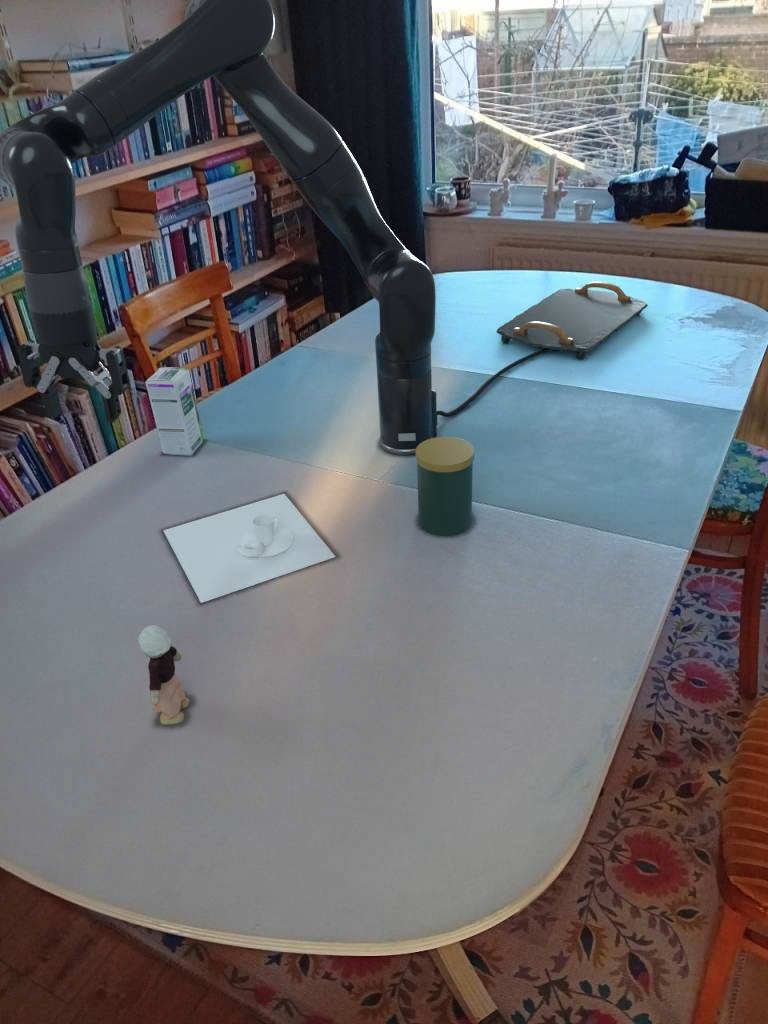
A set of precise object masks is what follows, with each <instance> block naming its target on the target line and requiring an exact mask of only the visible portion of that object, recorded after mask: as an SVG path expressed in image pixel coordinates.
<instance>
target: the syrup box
mask: <svg viewBox="0 0 768 1024" xmlns="http://www.w3.org/2000/svg"><path fill="white" fill-rule="evenodd" d="M144 382H145V386H146V390H147V394H148V399H149V403H150V406H151V410H152V415H153V419H154V423H155V426H156V430H157V434H158V438H159V443H160V446H161V451H162V454H165V455H172V456H193V455H194V453H195V452H196V451H197V449H198V448H199V447H200V446H201V444H203V442H204V441H205V438H204V434H203V429H202V425H201V420H200V416H199V410H198V405H197V401H196V396H195V392H194V386H193V383H192V377H191V372H190V369H189V368H186V367H178V366H177V367H175V366H169V367H167V366H166V367H159V368H158V369H157V371H156V372H154V373H153V374H152V375H151V376H150V377H148V379H147V380H145V381H144Z"/></svg>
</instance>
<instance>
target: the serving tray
mask: <svg viewBox="0 0 768 1024" xmlns="http://www.w3.org/2000/svg"><path fill="white" fill-rule="evenodd" d="M590 288H597V289H604V290H609V291H603V290H592V289H590ZM610 291H612V292H610ZM648 305H649V304H648V303H647V302H645V301H643V300H640V299H637V298H634V297H631V296H630V295H626V293H625V292H624V291H623V289H622V288H621V287H620V286H618V285H616V284H613V283H610V282H603V281H591V282H588V283H586V284H584V286H582V287H575V288H561V289H558V290H557V291H555V292H553V293H552V294H550V295H549V296H547V297H545V298H543V299H542V300H541V301H539V302H538V303H536V304H533V305H532V306H530V307H529V308H527V309H526V310H524V311H523V312H521V313H519V314H517V315H516V316H515V317H514V318H512V319H510V320H509V321H507V322H505V323H504V324H502V325H501V326H499V327H498V328H497V329H496V334H497V335H500V341H501V342H502V344H503V345H507V344H509V343H510V342H511V341H515V342H518V343H521V344H525V345H528V346H532V347H537V348H542V349H545V348H549V349H553V350H556V351H557V350H558V351H567V352H575V357H576V359H577V360H579V361H582V360H584V359H585V358H586V356H587V352H591V351H593V350H594V349H595V348H596V347H598V346H599V345H601V344H602V343H604V341H605V340H607V339H608V338H610V337H611V336H612V335H613V334H614V333H616V332H618V330H620V329H621V328H622V327H623V326H625V325H626V324H627V323H629V322H630V321H631V320H632V319H634V318H635V317H636V316H640V314H642V311H643V310H645V309H646V308H647V307H648Z"/></svg>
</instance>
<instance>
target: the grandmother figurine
mask: <svg viewBox="0 0 768 1024" xmlns="http://www.w3.org/2000/svg"><path fill="white" fill-rule="evenodd" d="M137 641H138V647H139V648H140V651H141V652H142V653H143V654H144V655H145V656H146V657H147V658H149V661H148V665H147V669H148V674H149V685H148V686H149V695H150V700H149V701H150V704H151V705H153V710H154V713H156V714H159V713H160V716H159V722H160V724H161V725H163V726H169V725H177V724H180V723H182V722H183V721H184V719H185V713H184V712H183V711H181V709H186V708H187V707H188V706H189V704H190V699H189V698H188V697H186V693H185V690H184V687H183V683H182V681H181V679H180V677H179V676H178V675H177V673H176V664H175V662H179V661H181V660H182V654H181V653H180V652H179V651H178V649H177V648H176V647H175V646H172V644H173V640H172V638H171V637H170V635H169V632H168V631H167V630H166V629H164V628H163V627H161V626H158V625H155V624H152V625H148V626H146V627H144V628H143V630H141V632H140V634H139V635H138V640H137Z"/></svg>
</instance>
